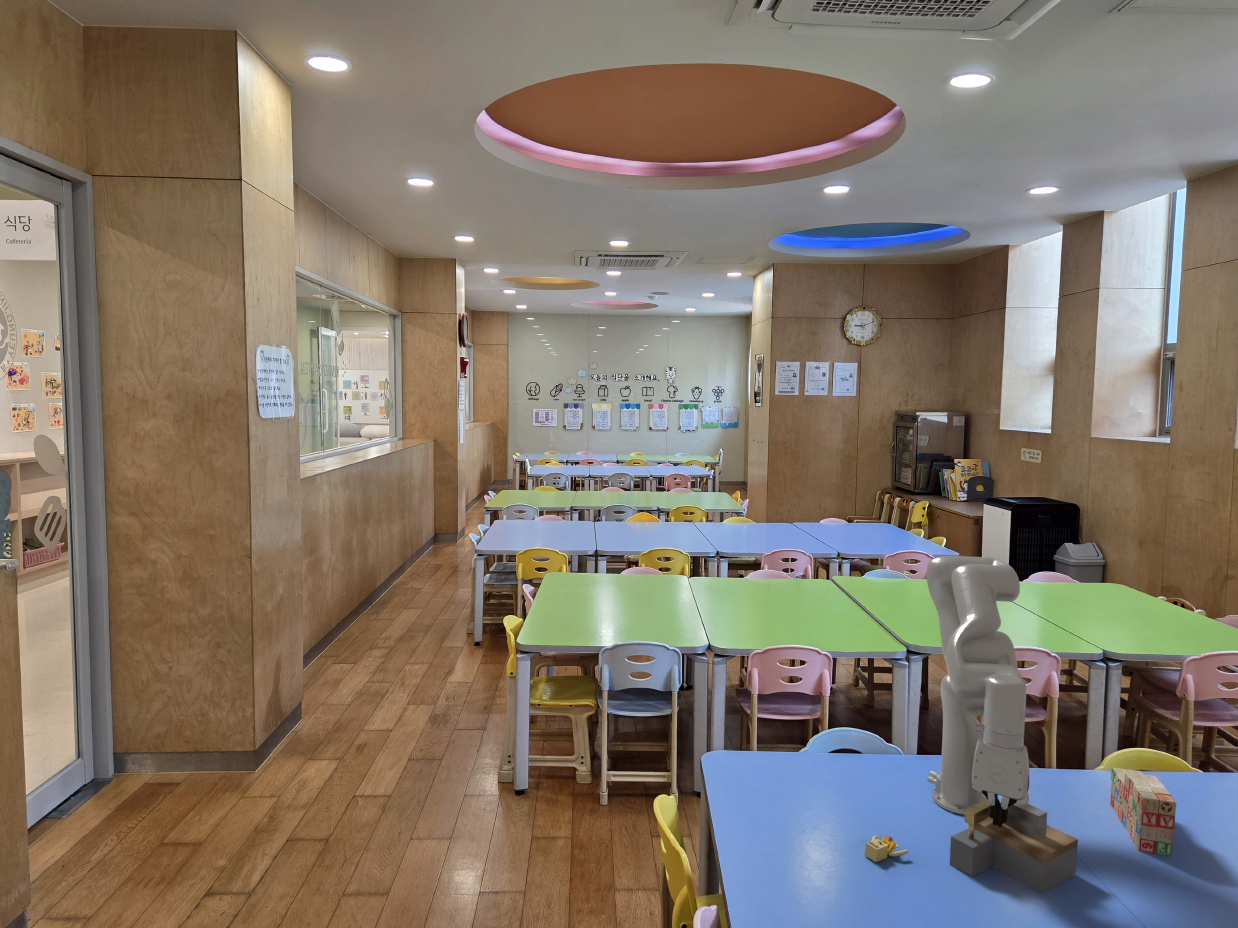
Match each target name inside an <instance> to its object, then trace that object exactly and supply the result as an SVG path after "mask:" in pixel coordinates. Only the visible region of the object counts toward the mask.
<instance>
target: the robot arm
mask: <svg viewBox="0 0 1238 928" xmlns="http://www.w3.org/2000/svg"><path fill="white" fill-rule="evenodd" d="M926 582H927V583H926V584H927V588H928V592H929V594H930V598H931V599H932V602H933V604H934V607H935V609H936V611H937V615H938V623H939V632H940V641H941V649H942V654H943V658H944V660H945V663H946V670H947V674H946V675H945V676H943V678H942V680H941V681H940V696H941V697H940V698H941V705H942V739H941V740H942V741H941V743H942V744H941V759H940V760H941V761H940V762H941V763H940V773H938V772H936V771H934V770H930V771H929V773H928V777H927V782H929V783H931V784H933V785H935V789H934V790H932V791H933V792H932V800H933V801H934V802H935V803H936V805H938V806H939V807H941V808H942V809H944V810H946V811H949V812H952V813H955V814H959V815H963V816H965V810H966V809H968V808H970V807H972V806H974V805H975V804H977V803H979V802H981V801H983V800H985V799H987V800H988V801H989V804H990V805H991V809H990V818H992V819H993V825H995V826H996V825H997V826H998V827H1001V826H1002V825H1003V823H1004V822H1005V823H1006V822H1007V817H1008V807H1010V806H1011V805H1013V804H1015V803H1018V804H1029V802H1030V796H1029V788H1030V761H1029V753H1028V748H1027V746H1026V745H1024V742H1025V741H1024V739H1025V722H1026V721H1025V720H1026V708H1027V707H1026V706H1027V705H1026V704H1027V685H1026V683H1025V681H1024V680H1023V676H1022V674H1021V673H1020V671H1019V669H1018V663H1017V657H1016V652H1015V647H1014V644H1013V640H1012V639H1011V638H1010V637H1009V635H1007V634H1006V633H1005V632H1002V631H999V629H1000V627H1001V624H1002V621H1001V620H1002V619H1001V616H1000V612H999V609H998V603H997V602H1008V603H1009V602H1014V601H1016V600H1017V599H1018V597H1019V595H1020V590H1021V584H1020V579H1019V576H1018V574H1017V572H1016V571H1015V569H1014V568H1013V567H1012V566H1011V565H1010V564H1009V563H1007V562H1005V561H1004V560H1001V559H999V558H996V557H987V556H986V557H985V556H984V557H983V556H966V555H965V556H964V555H943V556H942V555H940V556H937V557H933V558H932V559H930V561H928V564H927V567H926ZM978 716H982V717H983V722H982V723H983V724H981V723H980V721H979V720H978V719H977V718H976V717H978ZM999 796H1002V798H1001V799H1002V802H1001V801H1000V799H999Z"/></svg>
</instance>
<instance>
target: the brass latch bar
mask: <svg viewBox="0 0 1238 928" xmlns="http://www.w3.org/2000/svg"><path fill="white" fill-rule="evenodd" d="M990 809H991V805H990V804H989V801H988V800H987V799H985V800H983V801H981V802H979V803H977V804H975V805H974V806H972V807H970V808H968V809H966V810H965V815H964V820H963V821H964V823H966V824H968V826H967V829H968V837H969V838H974V830H975V825H977V824H978V823H980V822H982V821H984V820H985V819H987V818H989V817H990Z"/></svg>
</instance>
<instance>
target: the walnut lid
mask: <svg viewBox="0 0 1238 928" xmlns="http://www.w3.org/2000/svg"><path fill="white" fill-rule="evenodd" d="M1002 799H1003V798H1001V801H1000V803H1001V802H1002ZM1047 822H1048V812H1047V811H1045V810H1043V809H1042V808H1041V809H1040V808H1038V807H1036V806H1034V805H1031V804H1029V803H1028V804H1018V803H1015V804H1013V805H1011V806H1010V807H1008V817H1007V822H1006V823H1005V822H1004V823H1003V825H1002V826H1001V827H998V826H997V825H996V826H995V825H993V819H992V818H990V817H989V818H987V819H985V820H984V821H982V822H980V823H978V824H977V825H975V829H976V830H978V831H980V832H982V833H984V834H986V835H988V836H990V837H992V838H994V839H996V840H998V841H1000V842H1002V843H1004V844H1006V845H1008V846H1010V847H1012V848H1014V849H1016V850H1018V851H1020V852H1022V853H1024V854H1026V855H1028V856H1030V857H1032V858H1034V859H1036V860H1038V861H1040V862H1042V863H1043V864H1045V863H1047V862H1049V861H1051V860H1053V859H1054V858H1056V857H1058V856H1060V855H1062V854H1064V853H1066V852H1068V851H1070V850H1072V849H1073V848H1075V847H1077V848H1078V841H1079V840H1078V838H1076V837H1074V836H1071V835H1070V834H1068V833H1065V832H1063V831H1061V830H1059V829H1056V828H1054V827H1052V826H1050V825H1048V824H1047Z"/></svg>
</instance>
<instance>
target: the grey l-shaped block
mask: <svg viewBox="0 0 1238 928" xmlns="http://www.w3.org/2000/svg"><path fill="white" fill-rule="evenodd" d="M949 846H950V848H949V849H950V850H949V852H950V853H949V865H951V866H952V867H954V868H956V869H957V870H959V871H961V872H963V873H964V874H966V875H968V876H970V877H973V876H976V875H977V874H980V873H982V872H984V871H986V870H988V869H989V868H991V867H993V868H995V869H997V870H998V871H1000V872H1003V873H1004V874H1005V875H1008V876H1009V877H1012V878H1013V879H1014V880H1017V881H1019V882H1020V883H1022V884H1024V885H1025V886H1028V887H1030V888H1032V889H1033V890H1036V891H1037V892H1039V893H1041V894H1044V893H1046V892H1047V891H1050V890H1052V889H1053V888H1055V887H1057V886H1058V885H1060V884H1062V883H1064V882H1065V880H1066V881H1068V880H1069V879H1071V878H1073V877H1074V876H1076V875H1075V874H1076V872H1077V861H1078V859H1077V857H1078V846H1077V847H1075V848H1073V849H1072V850H1070V851H1068V852H1066V853H1064V854H1062V855H1060V856H1058V857H1056V858H1054V859H1053V860H1051V861H1049V862H1047V863H1045V864H1043V863H1042V862H1040V861H1038V860H1036V859H1034V858H1032V857H1030V856H1028V855H1026V854H1024V853H1022V852H1020V851H1018V850H1016V849H1014V848H1012V847H1010V846H1008V845H1006V844H1004V843H1002V842H1000V841H998V840H996V839H994V838H992V837H990V836H988V835H986V834H984V833H982V832H980V831H978V830H976V829H975V830H974V838H969V837H968V828H966V829H964V830H961V831H960V832H957V833H955V834H953V835H951V836H950V845H949ZM1073 875H1074V876H1073ZM1072 876H1073V877H1072ZM1063 881H1064V882H1063ZM1056 885H1057V886H1056Z"/></svg>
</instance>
